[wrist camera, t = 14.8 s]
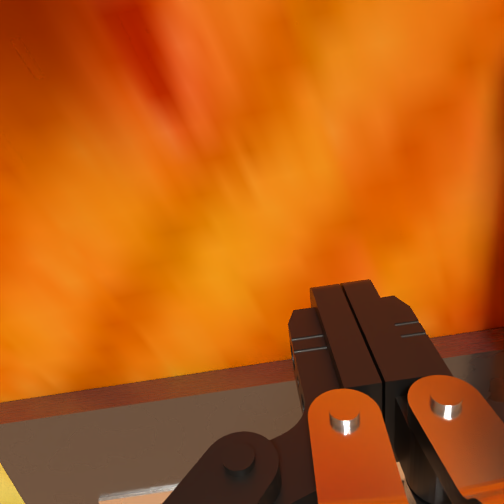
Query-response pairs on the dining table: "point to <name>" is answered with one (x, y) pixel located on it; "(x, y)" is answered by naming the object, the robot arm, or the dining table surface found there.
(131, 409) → the label panel
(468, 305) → the dining table surface
